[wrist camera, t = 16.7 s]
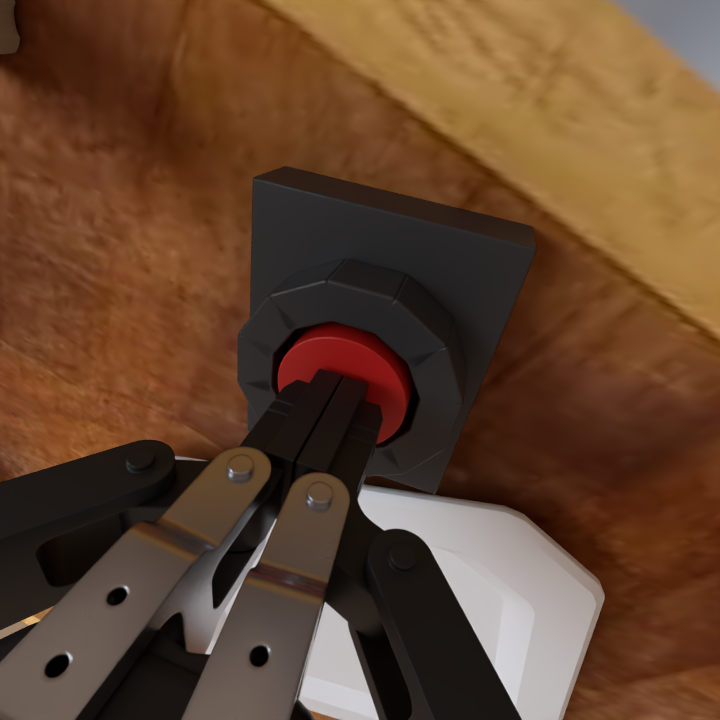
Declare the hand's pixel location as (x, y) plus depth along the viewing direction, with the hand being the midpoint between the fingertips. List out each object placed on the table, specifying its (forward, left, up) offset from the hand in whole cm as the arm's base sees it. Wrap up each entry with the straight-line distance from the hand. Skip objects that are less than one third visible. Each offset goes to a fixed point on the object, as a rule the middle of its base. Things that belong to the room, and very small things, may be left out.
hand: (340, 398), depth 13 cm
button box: (0, 0, -4) cm, 4 cm away
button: (0, 0, -2) cm, 2 cm away
